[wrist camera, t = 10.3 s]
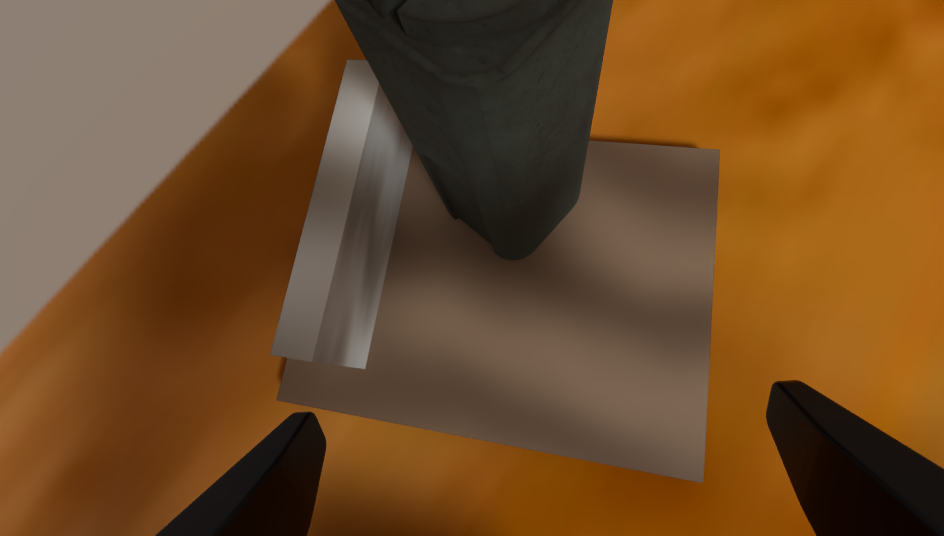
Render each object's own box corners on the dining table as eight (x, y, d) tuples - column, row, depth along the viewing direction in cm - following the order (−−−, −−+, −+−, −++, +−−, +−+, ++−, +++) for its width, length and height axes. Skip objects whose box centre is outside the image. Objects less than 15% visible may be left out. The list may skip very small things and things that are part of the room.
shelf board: (693, 477, 19) (760, 516, 13) (290, 399, 22) (198, 402, 16) (710, 162, 22) (770, 78, 16) (355, 135, 26) (298, 57, 20)
